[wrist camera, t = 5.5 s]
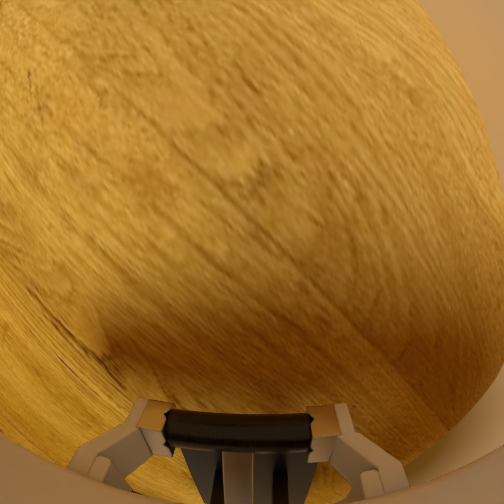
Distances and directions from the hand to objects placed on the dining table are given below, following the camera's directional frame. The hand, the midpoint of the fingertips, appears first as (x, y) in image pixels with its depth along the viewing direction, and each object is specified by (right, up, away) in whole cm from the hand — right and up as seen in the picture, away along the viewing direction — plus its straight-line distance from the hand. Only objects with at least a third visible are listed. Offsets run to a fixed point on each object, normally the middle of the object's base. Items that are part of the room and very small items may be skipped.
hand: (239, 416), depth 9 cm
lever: (0, -8, -1) cm, 8 cm away
